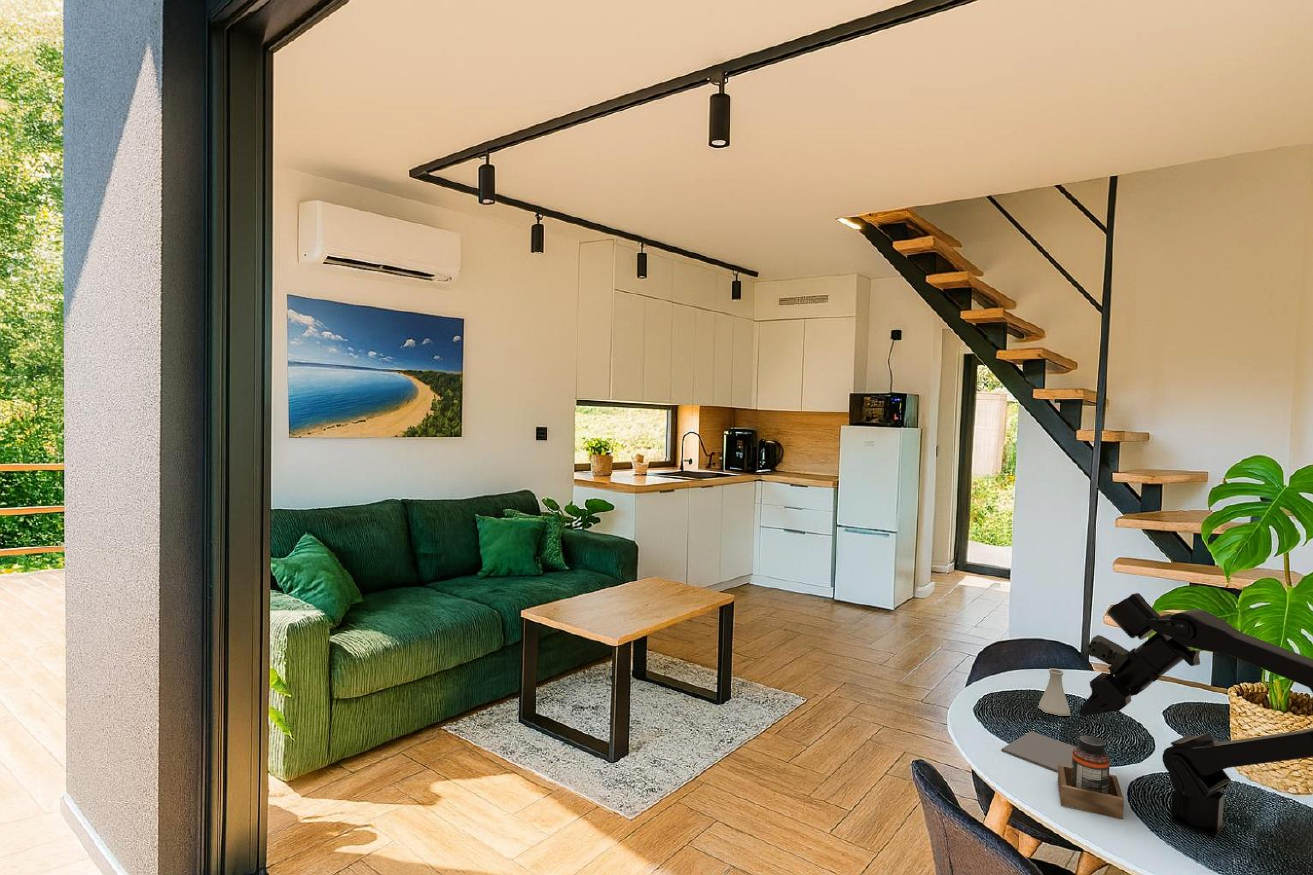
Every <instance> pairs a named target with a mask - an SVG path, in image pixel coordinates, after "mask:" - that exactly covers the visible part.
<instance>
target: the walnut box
mask: <svg viewBox="0 0 1313 875" xmlns="http://www.w3.org/2000/svg"><path fill="white" fill-rule="evenodd" d="M1071 776H1072V766H1067V765H1063V764H1058V773H1057V787H1058V788H1057V789H1058V793H1059V795H1058V796H1059V802H1060V806H1064V807H1067V808H1071V809H1075V810H1076V809H1077V810H1080V811H1084V812H1089V813H1092V814H1093V813H1094V814H1097V815H1103V816H1107V817H1111V818H1116V819H1120V820H1123V819H1124V806H1125V800H1124V799H1125V798H1124V795H1123V792H1122V788H1121V785H1120V783H1119V782H1120V781H1119V779H1118V776H1117V775H1115V774H1110V773H1109V787H1108V794H1103V793H1099V792H1094V791H1090V790H1085V789H1080V788H1076V787H1071Z"/></svg>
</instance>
